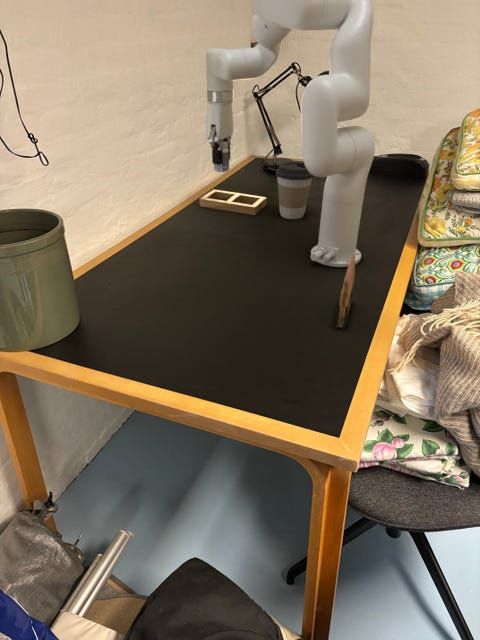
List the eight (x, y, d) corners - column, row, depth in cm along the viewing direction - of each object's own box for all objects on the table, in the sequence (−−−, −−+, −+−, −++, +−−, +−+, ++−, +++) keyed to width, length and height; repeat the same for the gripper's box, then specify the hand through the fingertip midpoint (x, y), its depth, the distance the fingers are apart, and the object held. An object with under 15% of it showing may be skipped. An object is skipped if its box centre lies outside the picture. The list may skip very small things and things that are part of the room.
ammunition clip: (342, 302, 109) (349, 251, 102) (351, 303, 108) (358, 252, 102) (335, 327, 100) (342, 274, 94) (344, 329, 100) (352, 275, 93)
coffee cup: (317, 219, 150) (322, 168, 142) (283, 223, 147) (286, 172, 139) (299, 206, 159) (303, 158, 151) (267, 211, 156) (269, 162, 148)
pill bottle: (229, 168, 157) (228, 140, 152) (229, 172, 153) (229, 144, 148) (214, 168, 157) (213, 140, 152) (213, 172, 153) (213, 144, 148)
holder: (254, 215, 152) (254, 207, 151) (199, 206, 159) (199, 198, 157) (266, 204, 160) (266, 197, 159) (213, 196, 167) (213, 189, 165)
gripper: (220, 92, 152) (221, 154, 161) (194, 100, 138) (197, 167, 148) (243, 94, 149) (243, 156, 159) (219, 102, 136) (220, 169, 145)
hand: (221, 160), depth 153 cm, fingers closed on pill bottle, 4 cm apart
